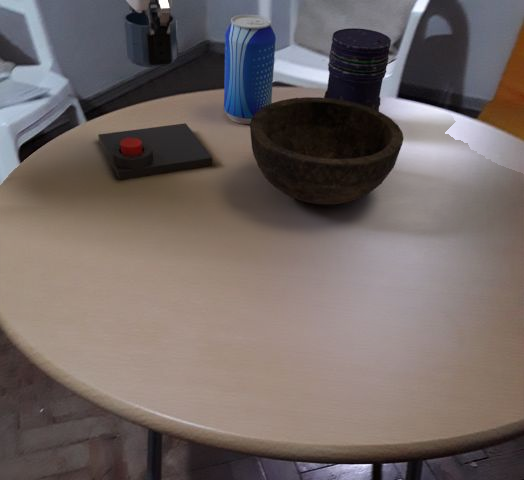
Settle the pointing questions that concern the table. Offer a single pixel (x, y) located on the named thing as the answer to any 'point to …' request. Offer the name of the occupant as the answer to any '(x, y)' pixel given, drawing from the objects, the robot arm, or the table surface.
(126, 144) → the button
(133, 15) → the small cup
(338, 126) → the bowl
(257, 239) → the table surface
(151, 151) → the base
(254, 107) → the beer can
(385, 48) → the storage jar
